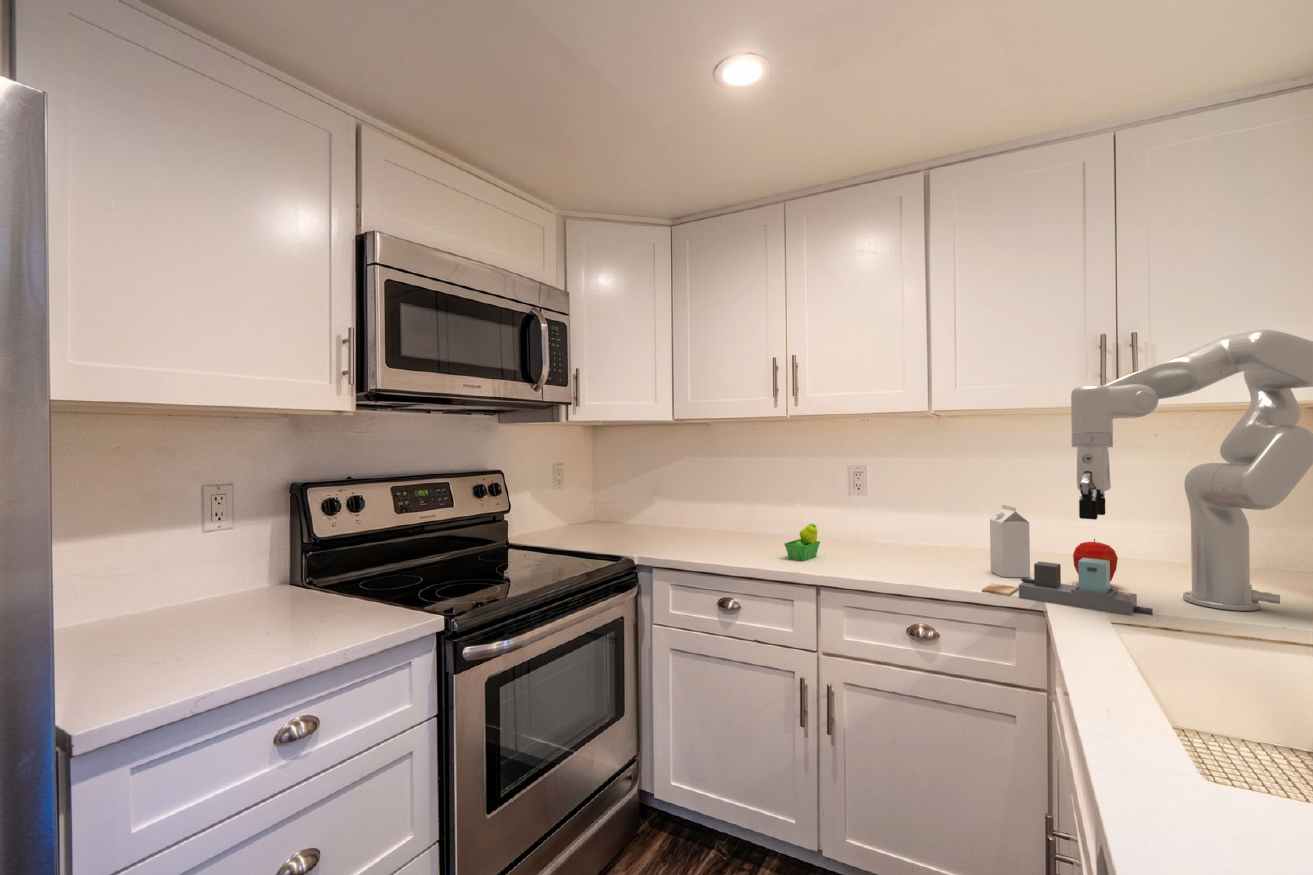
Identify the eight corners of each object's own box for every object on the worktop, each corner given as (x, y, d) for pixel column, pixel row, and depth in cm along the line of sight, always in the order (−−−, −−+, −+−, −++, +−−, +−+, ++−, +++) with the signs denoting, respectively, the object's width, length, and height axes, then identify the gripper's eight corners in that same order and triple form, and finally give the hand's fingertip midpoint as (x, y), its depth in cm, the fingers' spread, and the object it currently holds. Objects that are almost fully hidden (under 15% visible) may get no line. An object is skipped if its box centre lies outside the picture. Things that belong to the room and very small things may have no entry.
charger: (1110, 591, 133) (1109, 560, 133) (1106, 596, 129) (1105, 564, 129) (1083, 587, 137) (1082, 557, 137) (1078, 592, 133) (1078, 561, 133)
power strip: (1154, 610, 129) (1153, 573, 129) (1150, 618, 123) (1149, 580, 123) (1025, 590, 146) (1025, 558, 146) (1016, 597, 141) (1016, 563, 141)
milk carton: (1016, 572, 166) (1015, 504, 166) (1030, 578, 159) (1029, 507, 159) (990, 571, 167) (989, 504, 167) (1002, 577, 160) (1001, 507, 160)
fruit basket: (800, 553, 196) (799, 519, 196) (825, 557, 191) (824, 522, 191) (783, 559, 188) (782, 523, 188) (809, 562, 182) (808, 526, 182)
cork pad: (1018, 589, 147) (1018, 587, 147) (1009, 596, 142) (1009, 593, 142) (992, 585, 152) (992, 583, 152) (982, 591, 146) (982, 589, 146)
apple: (1124, 591, 144) (1123, 542, 144) (1080, 588, 147) (1079, 540, 147) (1109, 582, 153) (1109, 536, 153) (1068, 580, 156) (1068, 534, 156)
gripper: (1105, 441, 124) (1106, 522, 124) (1118, 440, 137) (1119, 514, 137) (1063, 441, 130) (1064, 519, 130) (1079, 440, 142) (1080, 511, 142)
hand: (1092, 516), depth 133 cm, fingers open, 9 cm apart
